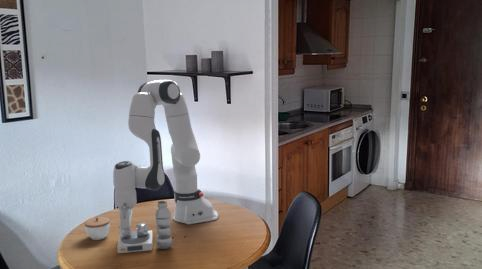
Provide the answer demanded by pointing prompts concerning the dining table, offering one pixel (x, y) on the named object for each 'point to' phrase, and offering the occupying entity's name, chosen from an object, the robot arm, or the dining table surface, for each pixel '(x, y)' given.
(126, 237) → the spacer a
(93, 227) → the lidded jar
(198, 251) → the dining table surface
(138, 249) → the kitchen scale
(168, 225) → the plastic bottle
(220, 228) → the dining table surface
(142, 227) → the silver ball
